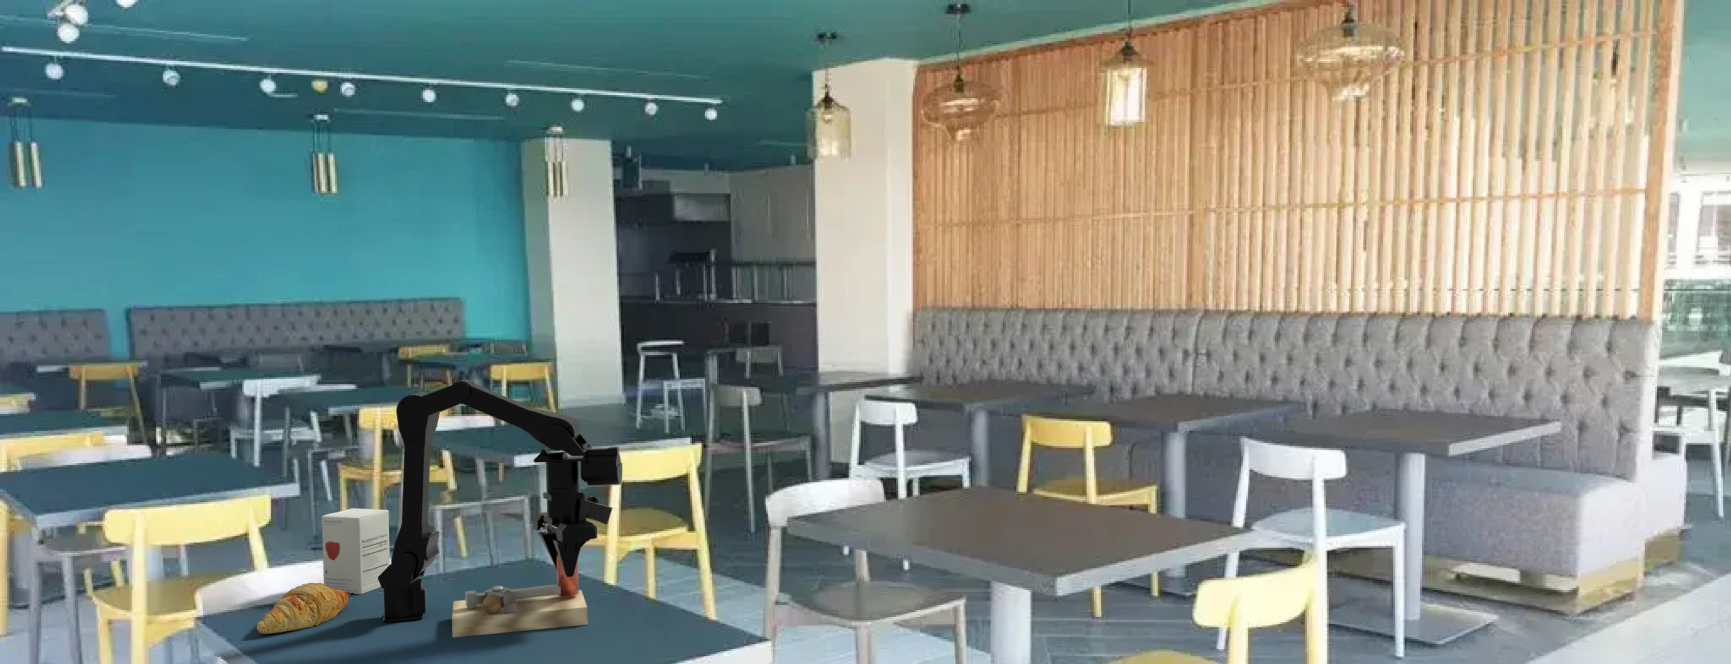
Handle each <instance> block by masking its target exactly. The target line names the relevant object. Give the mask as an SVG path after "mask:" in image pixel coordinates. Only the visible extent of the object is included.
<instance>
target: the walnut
mask: <svg viewBox="0 0 1731 664" xmlns="http://www.w3.org/2000/svg"><path fill="white" fill-rule="evenodd" d="M501 607H502V599H501V598H500V597H499V596H498V595H495V594H491V595H488V596H487V597H486V598H485V599H484V601H483V609H484V610H485V611H486V612H487V613H490V614H494V613H497V612H498V611H499V610H500V609H501Z"/></svg>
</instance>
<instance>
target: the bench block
mask: <svg viewBox="0 0 1731 664" xmlns="http://www.w3.org/2000/svg"><path fill="white" fill-rule="evenodd" d="M503 603H504V604H502V607H501V609H500V610H499V611H498V612H497V613H494V614H490V613H487V612H486V611H485V610H484V609H483V603H482V604H477V607H475V608H467V607H466V599H463V600H453V604H452V614H451V615H452V617H451V618H452V619H451V626H452V627H451V628H452V632H451V633H452V638H461V637H462V638H463V637H472V636H482V635H484V636H485V635H491V634H492V635H493V634H502V633H511V632H523V631H534V630H544V629H545V630H546V629H555V628H556V629H557V628H564V627H574V626H585V625H586V626H587V625H589V623H588V621H589V620H588V605H587V602H586V600H585V597H584V594H583V591H582V589H579V593H578V594H577V595H573V596H559V595H550V596H542V597H533V598H525V599H516V593H515V592H506V593H503Z"/></svg>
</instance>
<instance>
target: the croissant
mask: <svg viewBox="0 0 1731 664" xmlns="http://www.w3.org/2000/svg"><path fill="white" fill-rule="evenodd" d="M350 597H351V593H350V592H349V591H342V590H335V589H333V588H329V587H327V586H325V585H324V583H321V582H316V583H315V582H308V583H302V584H301V585H298V586H296V587H294V588H291V589H290V590H288V591H287V592H286V593H285V594H283V595H282V597H281V598H280V599H279V600H278V601H277V602H276V603H274V606H273V608H272V609H271V610H269V611H267V612H266V613H265V614H264V617H263V618H262V620H260V621H258V622H257V626H256V630H257V631H258V633H260V634H265V635H266V634H276V633H279V634H280V633H283V632H291V631H297V630H303V629H309V628H312V627H318V626H319V625H320V624H322V623H321V622H324V623H326V622H325V621H327V622H329V621H331V620H332V619H334V618H335V617H336V616H337V615H338V614H339V613H340V612H341V611H343V609H344V608H345V607H346V606H347V605H348V603H349V599H350ZM330 619H331V620H330ZM328 620H329V621H328ZM314 625H315V626H314ZM308 627H309V628H308Z"/></svg>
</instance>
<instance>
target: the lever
mask: <svg viewBox="0 0 1731 664" xmlns="http://www.w3.org/2000/svg"><path fill="white" fill-rule="evenodd" d="M556 574H557V575H556V576H557V578H556V580H557V583H556V584H546V585H538V586H531V587H530V586H529V587H522V588H521V587H519V588H510V587H504V586H503V585H496V586H495V585H494V586H492V588H489V589H486V590H485V591H483V592H477V591H476V590H465V591H464V593H465V599H464V600H466V607H467V608H475V607H477V604H482V603H483V601H484V599H485V598H486V597H487V596H488V595H491V594H495V595H498V596H499V597H500V598H501V599H502V604H504V603H503V593H506V592H515V593H516V599H525V598H533V597H542V596H550V595H559V596H573V595H577V594H578V593H579V590H580V589H579V560H577V564H576V568H575V571H574V575H573V577H567V576H566V574H565V571H564V569H563V566H562V563H561V560H560V558H559V555H558V554H557V570H556Z"/></svg>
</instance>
